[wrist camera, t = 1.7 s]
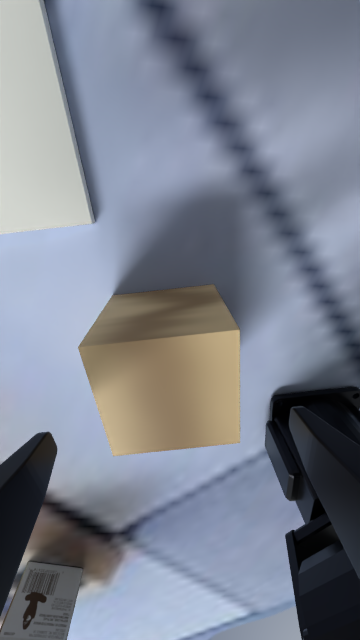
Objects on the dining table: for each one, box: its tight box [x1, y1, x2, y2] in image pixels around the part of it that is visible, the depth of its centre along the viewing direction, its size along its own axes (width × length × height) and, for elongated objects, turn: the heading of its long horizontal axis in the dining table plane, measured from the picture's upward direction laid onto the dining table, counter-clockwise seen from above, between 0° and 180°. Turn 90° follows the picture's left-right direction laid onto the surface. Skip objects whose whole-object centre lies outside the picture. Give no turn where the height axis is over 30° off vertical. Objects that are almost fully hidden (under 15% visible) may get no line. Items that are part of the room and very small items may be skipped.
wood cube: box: [78, 284, 240, 456], centre depth 13 cm, size 6×6×6 cm
